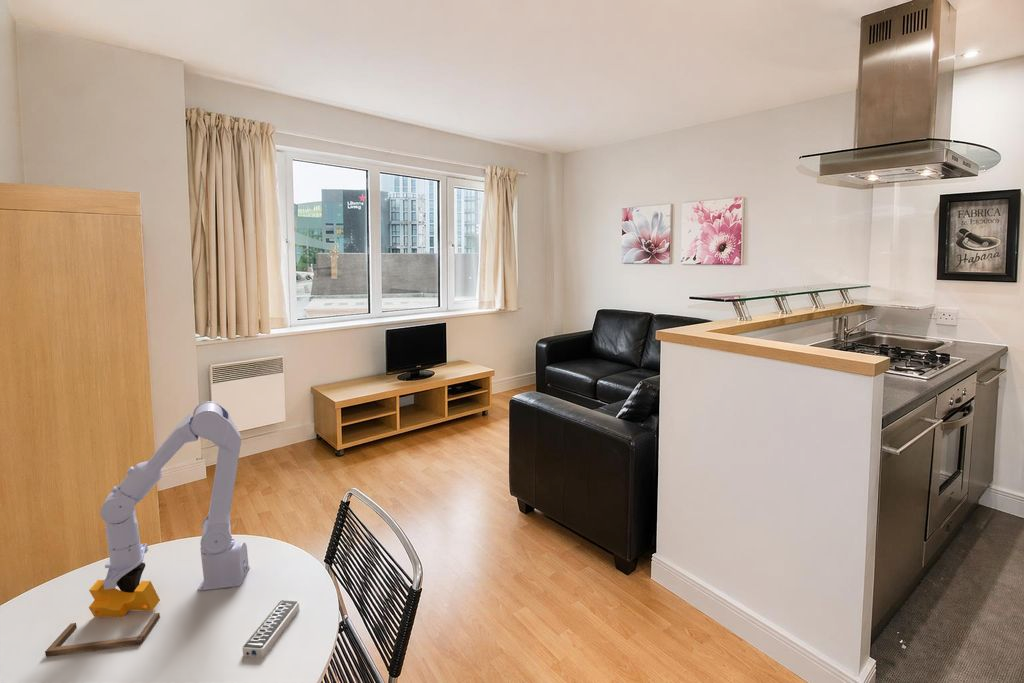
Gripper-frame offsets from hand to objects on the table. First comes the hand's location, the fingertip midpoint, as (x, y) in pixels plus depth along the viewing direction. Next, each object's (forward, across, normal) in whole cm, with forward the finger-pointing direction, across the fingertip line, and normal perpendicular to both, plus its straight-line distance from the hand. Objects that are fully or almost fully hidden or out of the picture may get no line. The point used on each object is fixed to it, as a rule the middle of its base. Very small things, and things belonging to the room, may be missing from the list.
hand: (131, 597), depth 117 cm
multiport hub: (+2, +16, +34) cm, 37 cm away
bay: (+1, +11, 0) cm, 11 cm away
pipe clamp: (+1, +3, +1) cm, 3 cm away
